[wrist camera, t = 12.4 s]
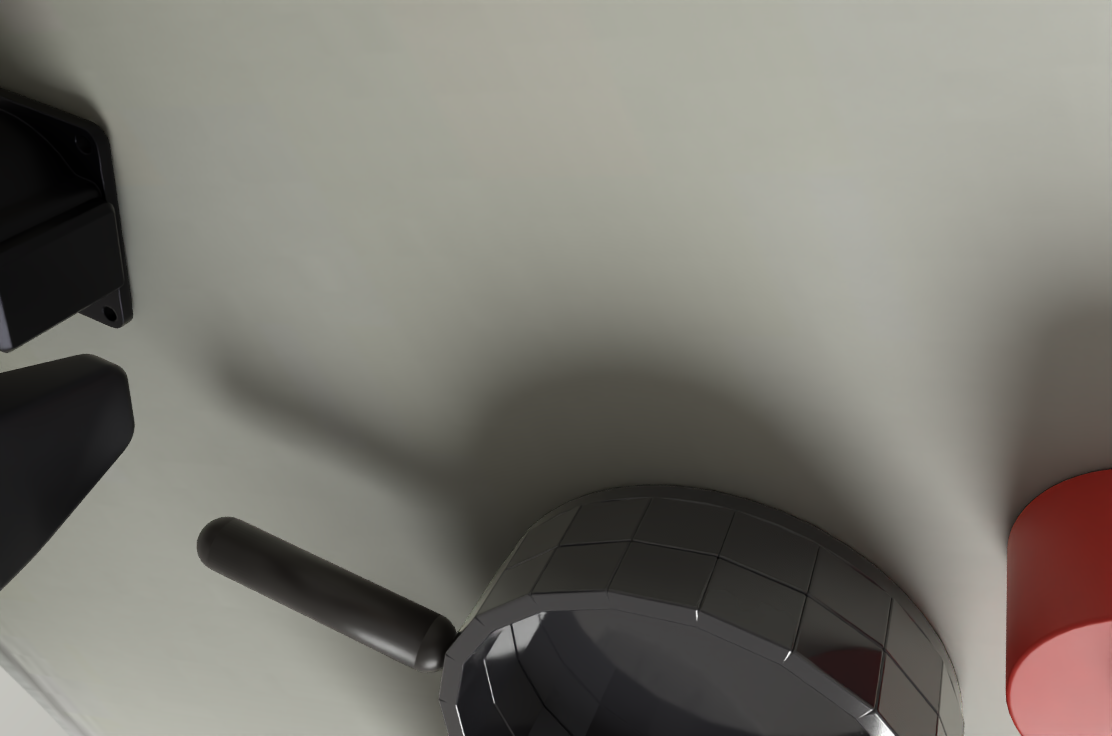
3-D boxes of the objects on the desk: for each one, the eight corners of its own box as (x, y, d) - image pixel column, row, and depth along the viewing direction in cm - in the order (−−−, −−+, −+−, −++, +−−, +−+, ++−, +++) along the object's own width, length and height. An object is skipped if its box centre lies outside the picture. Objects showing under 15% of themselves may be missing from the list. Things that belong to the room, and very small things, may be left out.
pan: (479, 699, 32) (421, 799, 29) (537, 410, 24) (466, 506, 21) (853, 882, 29) (834, 1017, 26) (1062, 623, 21) (1069, 773, 18)
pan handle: (222, 534, 28) (186, 569, 27) (220, 497, 27) (182, 532, 26) (465, 650, 26) (438, 694, 25) (471, 615, 25) (442, 659, 24)
